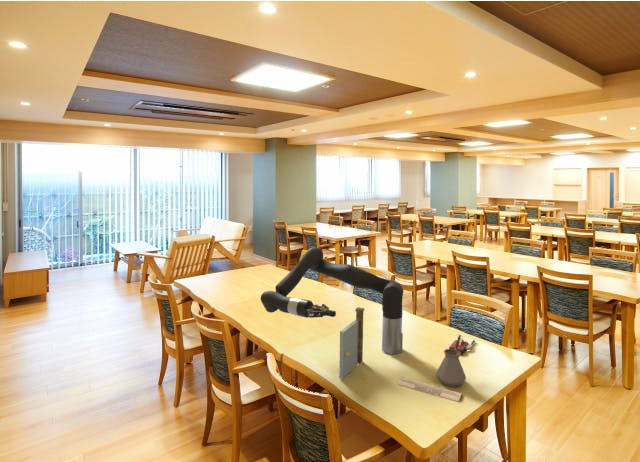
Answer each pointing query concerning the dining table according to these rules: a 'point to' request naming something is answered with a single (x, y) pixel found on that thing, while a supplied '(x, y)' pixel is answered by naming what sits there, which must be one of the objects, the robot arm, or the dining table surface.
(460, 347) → the dried flower sprig
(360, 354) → the hinge post
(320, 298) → the dining table surface
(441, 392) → the tan flat bar
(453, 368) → the coffee pot
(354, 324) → the door
